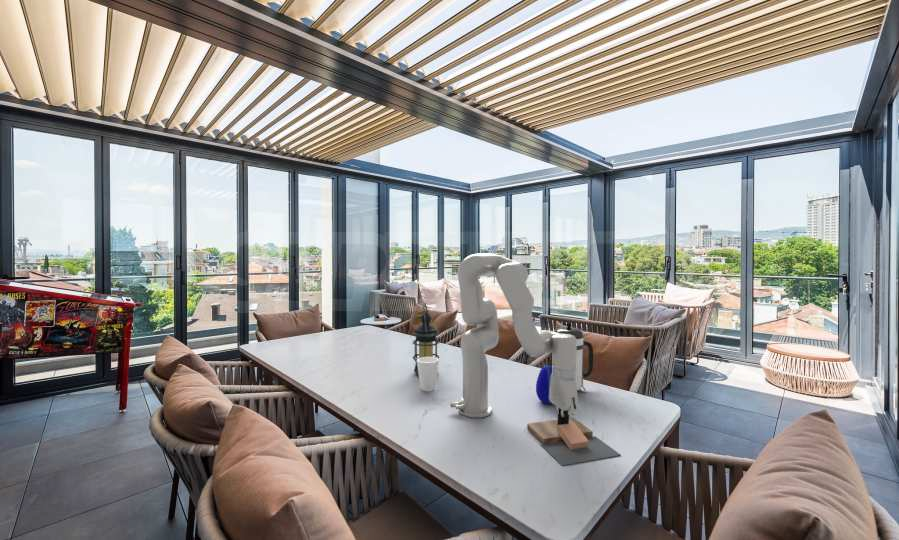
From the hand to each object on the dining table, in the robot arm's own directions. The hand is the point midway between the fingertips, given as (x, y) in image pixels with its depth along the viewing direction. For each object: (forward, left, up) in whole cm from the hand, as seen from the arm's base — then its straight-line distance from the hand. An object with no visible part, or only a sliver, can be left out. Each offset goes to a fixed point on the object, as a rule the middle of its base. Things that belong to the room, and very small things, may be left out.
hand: (563, 426), depth 128 cm
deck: (0, +2, -3) cm, 4 cm away
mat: (0, -9, -3) cm, 10 cm away
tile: (0, -5, -2) cm, 5 cm away
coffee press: (+27, +37, -3) cm, 46 cm away
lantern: (-29, +76, -3) cm, 81 cm away
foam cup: (-33, +55, -3) cm, 64 cm away
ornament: (+10, +27, -3) cm, 29 cm away
